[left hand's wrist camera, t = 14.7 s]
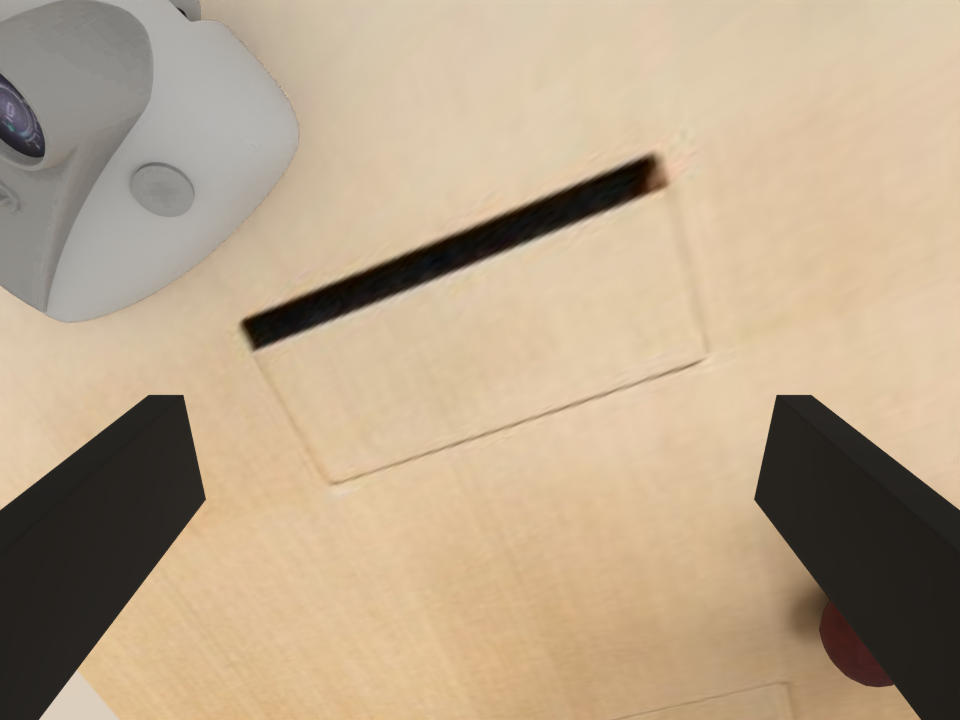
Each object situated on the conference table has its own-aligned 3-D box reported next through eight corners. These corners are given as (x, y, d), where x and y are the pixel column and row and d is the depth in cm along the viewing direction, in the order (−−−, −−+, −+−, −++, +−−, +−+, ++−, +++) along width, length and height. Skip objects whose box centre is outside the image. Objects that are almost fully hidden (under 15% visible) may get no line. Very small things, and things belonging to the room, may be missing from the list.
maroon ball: (808, 643, 53) (854, 714, 47) (798, 582, 50) (845, 649, 44) (888, 624, 52) (947, 694, 46) (882, 561, 50) (944, 626, 43)
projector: (-98, -46, 33) (-503, -174, 19) (288, -66, 33) (152, -211, 19) (29, 315, 41) (-193, 402, 28) (340, 302, 41) (270, 384, 27)
